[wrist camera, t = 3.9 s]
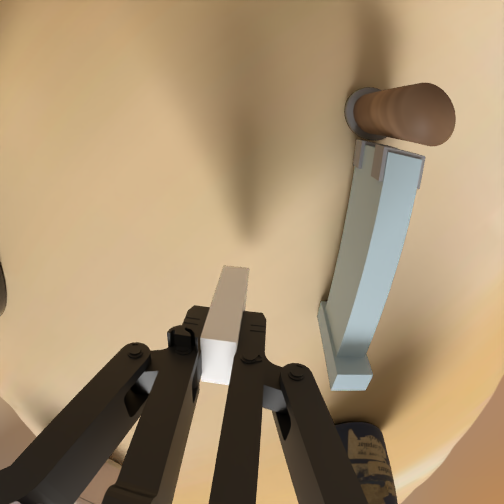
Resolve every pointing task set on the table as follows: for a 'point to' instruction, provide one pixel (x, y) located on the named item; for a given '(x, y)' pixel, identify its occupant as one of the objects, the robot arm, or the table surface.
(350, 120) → the gateposts
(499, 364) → the table surface
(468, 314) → the table surface
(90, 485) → the container
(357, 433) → the canister
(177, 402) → the robot arm
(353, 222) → the gate
